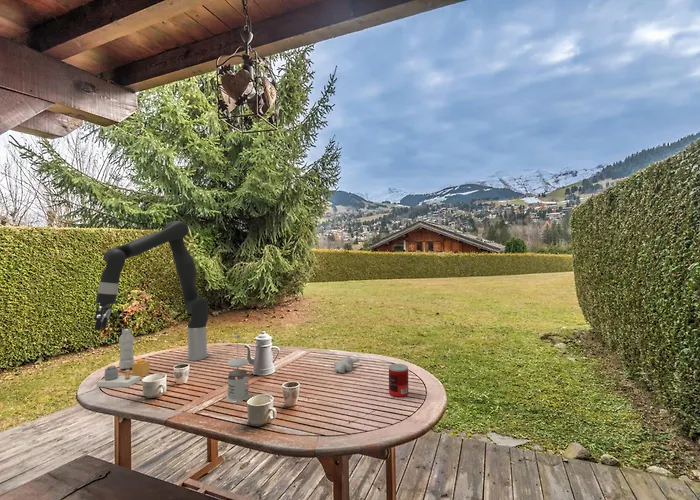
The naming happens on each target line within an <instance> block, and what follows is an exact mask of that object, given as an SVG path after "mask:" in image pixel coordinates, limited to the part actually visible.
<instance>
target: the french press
mask: <svg viewBox="0 0 700 500" xmlns="http://www.w3.org/2000/svg"><path fill="white" fill-rule="evenodd" d="M234 338H236V341H237V346H236V347H237V351H236V352H237V353H239V338H241V334H239V333H236V334H235V336H234ZM248 364H249V360H248V359H246V358H242V357H237V358H233V359H230V360H228V362H227V365H228V366H229V367H232V371H229V372H228V376H227V395H226V396H225V398H226V400H227V401H226V400H225V401H226V402H228V401H242V402H244V401H243V400H245V401H247V400H249V399H251V398H252V395H251V393H249V374H248V371H247V370H246V369H239V367H243V366H246V365H248ZM234 368H236V369H234ZM236 378H237V379H236ZM248 398H249V399H248ZM246 399H247V400H246Z"/></svg>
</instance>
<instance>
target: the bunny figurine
mask: <svg viewBox="0 0 700 500" xmlns="http://www.w3.org/2000/svg"><path fill="white" fill-rule="evenodd" d="M358 362H360V359H359V358H358V357H356V358H351V357H350V356H344V357H343V356H342V358H341V359H340V360H339V361H337V362H336V361H335V362H334V363H333V369H334V372H336V373H341V374H345V373H346V372H347V371H352V370H353V369H352V368H353V365H354V363H358Z"/></svg>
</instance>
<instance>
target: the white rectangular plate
mask: <svg viewBox="0 0 700 500" xmlns="http://www.w3.org/2000/svg"><path fill="white" fill-rule="evenodd" d="M140 381H141V377H140V376H132V375H130V379H128V380H125V375H118V378H117V379H115V380H111V381H105V377H104V378H102V379H100V380H98V381H97V382H96V387H97V388H98V387H101V388H104V387H105V388H129V387H130V385H131V386H133V385H134V384H136V383H139V382H140ZM132 384H133V385H132ZM128 386H129V387H128Z"/></svg>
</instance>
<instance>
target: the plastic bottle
mask: <svg viewBox="0 0 700 500" xmlns="http://www.w3.org/2000/svg"><path fill="white" fill-rule="evenodd" d="M131 332H132V328H131V327H124V328H122V330H121V335H120V337H119V338H118V344H119V351H120V352H119V353H120V356H119V362H118V364H119V365H118V366H119V367H118V368H119V369H120V370H127V369H132V364H133V363H135V362H136V361H135V358H134V343H135V337H134V335H133V334H132V333H131Z"/></svg>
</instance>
